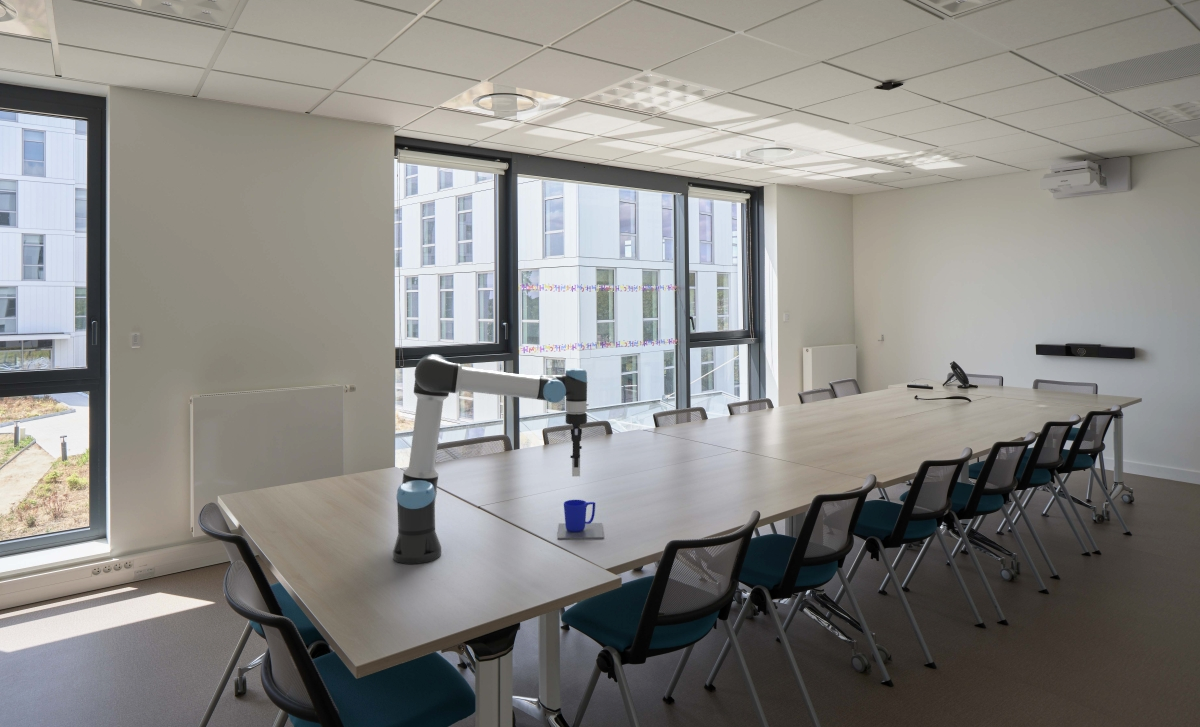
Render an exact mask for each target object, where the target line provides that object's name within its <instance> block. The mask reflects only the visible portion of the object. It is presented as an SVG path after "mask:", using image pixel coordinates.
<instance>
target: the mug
mask: <svg viewBox="0 0 1200 727" xmlns="http://www.w3.org/2000/svg"><path fill="white" fill-rule="evenodd" d="M589 505H592V508H591V509H592V510H591V517H590V519H589V520H588V521H587V520H586V518H587V507H588V506H589ZM563 509H564V511H563V512H564V523H565V525H566V529H567V530H568V531H570V532H580V531H583V530H584V528H585V523H586V524H589V523H593V521H594V518H595V513H596V502H594V501H588V502H587V501H586V500H583V499H569V500H565V501H564V502H563Z"/></svg>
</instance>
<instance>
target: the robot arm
mask: <svg viewBox="0 0 1200 727" xmlns="http://www.w3.org/2000/svg"><path fill="white" fill-rule="evenodd" d="M587 373H588V372H587V370H586V369H584V368H567V369H566V370H565V373H564V374H538V375H537V374H536V375H526V374H519V373H510V372H509V373H508V372H501V371H494V370H485V369H477V368H472V367H470V368H469V367H463V365H462V364H460V363H455V362H454V363H453V362H450V361H449V360H448V359H447V358H446V357H445V356H443V355H441V354H437V353H434V354H433V353H432V354H426V355H424V356H422V358H421V359H420V360H419V361H418V363H416V367H415V370H414V385H413V386H414V387H413V394H414V395H415V396H416V399H417V401H416V407H415V408H416V409H415V415H414V421H413V422H414V424H413V429H412V430H413V431H412V438H411V448H410V456H409V464H408V467H407V468H406V469H404V470H403V472H402V474H403V476H402V483H401V484H400V485H399V486H398V488H397V491H396V501H397V502H396V504H397V505H396V506H397V537H396V540H395V543H394V548H393V550H392V559H393V560H394V561H395V562H396V563H399V564H405V565H413V564H414V565H417V564H424V563H428V562H429V563H430V562H432V561H435V560H437V559H438V558H440V557H441V556H442V546H441V542H440V540H439V537H438V535H437V532H436V498H437V492H438V491H437V490H438V482H439V473H438V471H437V470H436V468H435V467H436V461H437V452H438V445H439V436H440V429H441V423H442V422H441V421H442V413H443V406H444V400H446V399H447V398H448V397H449V395H450V394H457V393H459V392H460V391H461V392H470V393H477V394H487V395H495V396H504V397H514V398H521V399H531V400H539V401H547V402H548V403H553V404H556V403H560V402H561V401H563V400H564V399H565V412H566V413H565V423H566V424H567V425H571V426H572V427H571V428H570V435H571V436H570V437H571V441H572V454H571V455H570V457H569V458H570V459H571V460H572V461H571V466H572V467H571V474H572V475H571V476H572V477H581V450H582V449H583V446H581V441H582V434H583V428H582V427H580V426H581V425H586V424H587V423H588V414H587V411H588V406H589V402H588V399H587V398H588V377H587V376H588V374H587Z"/></svg>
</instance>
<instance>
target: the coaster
mask: <svg viewBox="0 0 1200 727" xmlns="http://www.w3.org/2000/svg"><path fill="white" fill-rule="evenodd" d="M603 528H604V527H603V523H602V522H591V523H589V524H586V523H585V528H584V530H583V531H580V532H570V531H568V530H567V529H566V525H565V522H564V523H558V526H557V540H558V541H559V540H604V538H605V535H604V529H603Z"/></svg>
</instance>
